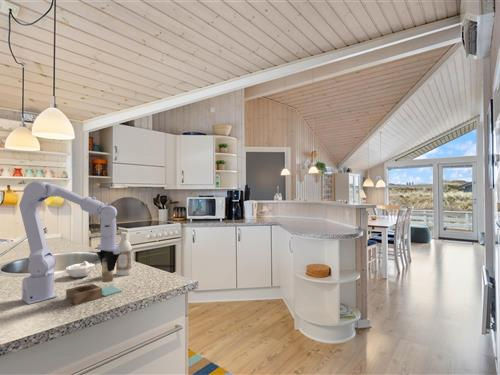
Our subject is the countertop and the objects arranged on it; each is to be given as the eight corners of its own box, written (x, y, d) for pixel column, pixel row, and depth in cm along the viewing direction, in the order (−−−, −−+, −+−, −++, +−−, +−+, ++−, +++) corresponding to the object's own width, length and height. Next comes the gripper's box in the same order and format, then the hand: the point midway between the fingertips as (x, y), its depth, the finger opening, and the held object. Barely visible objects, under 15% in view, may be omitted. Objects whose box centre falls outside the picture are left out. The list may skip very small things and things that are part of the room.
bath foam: (114, 276, 135) (114, 234, 135) (117, 272, 142) (118, 231, 142) (130, 275, 137) (130, 233, 137) (132, 271, 144) (133, 231, 144)
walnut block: (76, 305, 102) (76, 295, 102) (66, 298, 108) (66, 289, 108) (101, 297, 109) (102, 288, 109) (91, 292, 115) (91, 283, 115)
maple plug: (104, 283, 112) (105, 260, 113) (100, 281, 115) (100, 258, 115) (114, 280, 116) (115, 258, 116) (109, 278, 118) (110, 256, 118)
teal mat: (104, 296, 110) (104, 295, 110) (93, 291, 115) (93, 290, 115) (122, 291, 115) (122, 290, 115) (111, 286, 121) (111, 285, 121)
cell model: (62, 277, 134) (62, 262, 134) (89, 271, 143) (89, 258, 143) (69, 281, 127) (69, 266, 127) (98, 275, 136) (98, 261, 136)
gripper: (127, 236, 114) (127, 270, 114) (109, 232, 123) (109, 264, 123) (109, 238, 109) (109, 274, 109) (92, 234, 118) (92, 268, 117)
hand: (108, 269), depth 115 cm, fingers closed on maple plug, 4 cm apart
